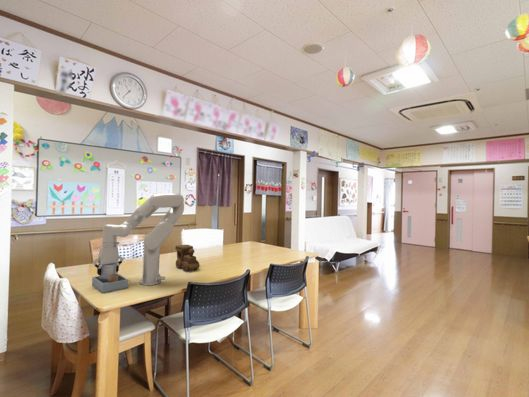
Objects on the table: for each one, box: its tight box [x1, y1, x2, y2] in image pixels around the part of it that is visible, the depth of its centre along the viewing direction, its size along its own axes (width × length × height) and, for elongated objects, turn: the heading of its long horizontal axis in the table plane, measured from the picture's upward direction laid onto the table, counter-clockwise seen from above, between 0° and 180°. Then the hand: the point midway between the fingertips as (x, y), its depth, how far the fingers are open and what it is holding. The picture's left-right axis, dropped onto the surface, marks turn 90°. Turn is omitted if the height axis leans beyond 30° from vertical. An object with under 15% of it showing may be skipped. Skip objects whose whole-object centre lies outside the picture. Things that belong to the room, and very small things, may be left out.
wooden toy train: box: [175, 244, 200, 272], centre depth 209 cm, size 20×11×17 cm, turn 46°
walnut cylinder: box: [108, 274, 118, 283], centre depth 160 cm, size 5×5×7 cm
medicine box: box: [98, 263, 117, 279], centre depth 165 cm, size 8×4×9 cm, turn 96°
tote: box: [91, 273, 129, 294], centre depth 163 cm, size 18×14×5 cm
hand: (108, 273), depth 165 cm, fingers closed on medicine box, 8 cm apart
